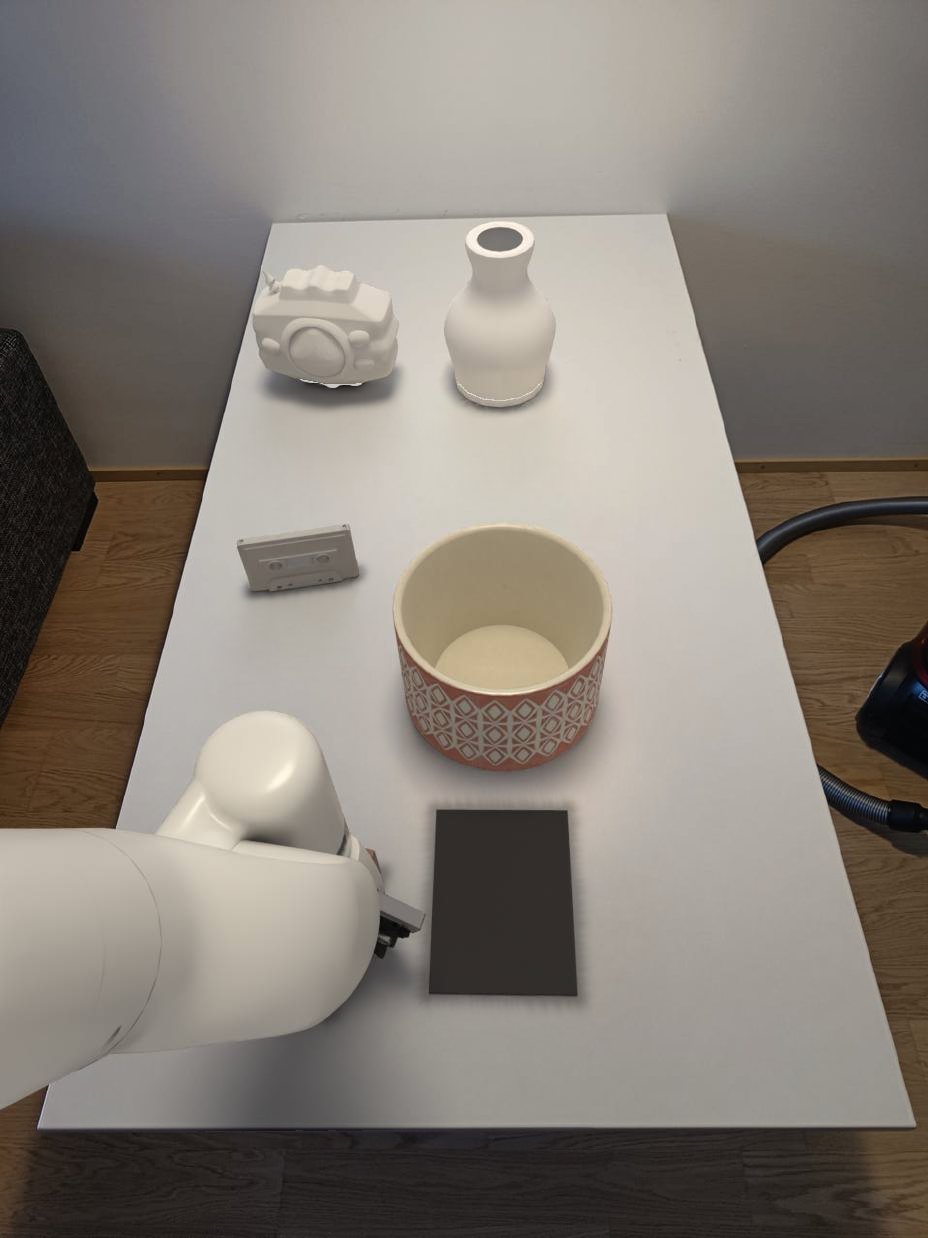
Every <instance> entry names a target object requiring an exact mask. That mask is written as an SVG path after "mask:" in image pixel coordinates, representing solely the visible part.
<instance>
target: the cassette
mask: <svg viewBox="0 0 928 1238" xmlns="http://www.w3.org/2000/svg"><path fill="white" fill-rule="evenodd" d="M236 549H237V551H238V554H239V555H238V556H240V560H241V563H242V566H243V569H244V572H245V574H246V577H247V581H248V583H249V586H250V588H251V591H253V592H261V591H269V592H276V591H283V590H290V589H296V588H303V587H304V588H305V587H311V586H317V585H324V584H330V583H336V582H343V581H344V579H349V578H355V577H358V576H359V573H360V569H359V565H358V563H359V562H358V560H357V557H356V552H355V551H356V550H355V546H354V542H353V535H352V531H351V526H350V525H349V523H343V524H338V525H330V526H324V527H317V528H310V529H303V530H296V531H289V532H282V533H273V534H268V535H261V536H253V537H247V538H240V539H237V541H236Z"/></svg>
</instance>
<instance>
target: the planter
mask: <svg viewBox="0 0 928 1238" xmlns="http://www.w3.org/2000/svg"><path fill="white" fill-rule="evenodd" d="M392 601H393V602H392V619H393V627H394V631H395V632H394V633H395V639H396V647H397V652H398V658H399V665H400V671H401V678H402V684H403V691H404V697H405V703H406V705H407V709H408V712H409V716H410V718H411V720H412V722H413V723H414V726H415V728H416V729H417V730H418V731H419V733H420V734H421V735H422V737H423V738H424V740H426V742H428V743H429V744H430V745H431V746H432V747H433V748H434V749H435V750H437V751H438V752H439V753H440V754H442V755H444V756H445V757H447V758H449V759H450V760H453V761H455V762H457V763H460V764H462V765H464V766H468V767H471V768H474V769H477V770H478V769H479V770H483V771H484V770H485V771H492V772H514V771H521V770H527V769H531V768H534V767H538V766H541V765H543V764H545V763H548V762H550V761H552V760H555V759H556V758H558V757H559V756H561V755H562V754H564V753H565V752H567V751H569V749H570V748H572V747H573V746H574V745H575V744H576V743H577V742H578V741H579V740H580V739H581V738H582V736H583V735H584V734H585V732H587V730H588V728H589V726H590V724H591V723H592V721H593V719H594V716H595V714H596V710H597V707H598V704H599V699H600V692H601V686H602V680H603V674H604V668H605V662H606V657H607V651H608V646H609V645H608V644H609V638H610V634H611V627H612V621H613V620H612V619H613V602H612V595H611V591H610V588H609V585H608V581H607V580H606V578H605V576H604V574H603V572H602V570H601V569H600V568H599V566H598V565H597V563H595V561H594V560H593V558H592V557H591V556H590V555H589V554H588V553H586V552H585V551H584V550H583V549H582V548H581V547H580V546H578V545H577V544H575V543H574V542H572V541H571V540H570V539H568V538H566V537H563V535H560V534H558V533H556V532H554V531H551V530H548V529H545V528H542V527H539V526H535V525H531V524H526V523H525V524H524V523H518V522H488V523H480V524H475V525H469V526H466V527H461V528H459V529H457V530H454V531H451V532H448V533H447V534H445V535H442V536H440V537H439V538H437V539H435V540H434V541H432V542H431V543H430V544H428V545H426V546H425V547H424V548H422V549H421V550H420V552H418V553H417V555H415V556H414V557H413V558H412V559H411V560H410V562H409V563H408V565H407V566H406V567H405V569H404V570H403V572H402V574H401V576H400V578H399V580H398V581H397V583H396V588H395V591H394V594H393V599H392Z"/></svg>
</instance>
